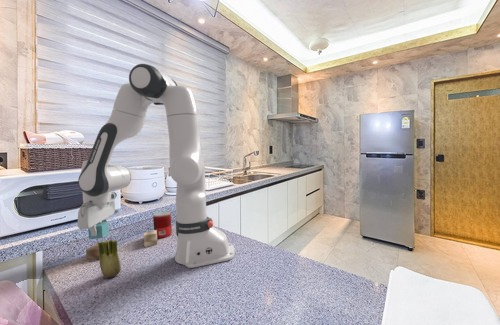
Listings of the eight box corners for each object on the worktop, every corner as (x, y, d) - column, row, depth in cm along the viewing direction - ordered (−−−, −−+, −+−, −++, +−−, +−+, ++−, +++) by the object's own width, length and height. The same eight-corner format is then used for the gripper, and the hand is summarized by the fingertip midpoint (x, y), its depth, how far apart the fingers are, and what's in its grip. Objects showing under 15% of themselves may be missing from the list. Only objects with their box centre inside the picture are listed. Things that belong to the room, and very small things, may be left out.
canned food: (175, 233, 109) (173, 211, 108) (161, 239, 102) (159, 216, 102) (165, 231, 113) (163, 210, 113) (151, 237, 106) (149, 214, 106)
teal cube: (109, 233, 92) (108, 221, 91) (102, 238, 87) (101, 225, 86) (96, 234, 91) (95, 222, 91) (88, 239, 86) (88, 226, 86)
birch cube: (157, 240, 102) (156, 229, 101) (157, 244, 97) (156, 233, 97) (145, 242, 100) (144, 231, 100) (144, 246, 95) (143, 235, 95)
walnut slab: (115, 251, 93) (115, 241, 92) (103, 259, 86) (103, 249, 85) (100, 251, 93) (99, 242, 93) (86, 259, 86) (85, 249, 86)
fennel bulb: (98, 277, 72) (95, 241, 71) (113, 270, 76) (110, 236, 76) (109, 281, 70) (106, 244, 69) (124, 273, 74) (121, 238, 73)
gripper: (90, 203, 78) (92, 242, 79) (117, 193, 99) (119, 223, 99) (70, 205, 77) (73, 243, 78) (101, 194, 98) (104, 225, 98)
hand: (99, 232), depth 89 cm, fingers closed on teal cube, 5 cm apart
